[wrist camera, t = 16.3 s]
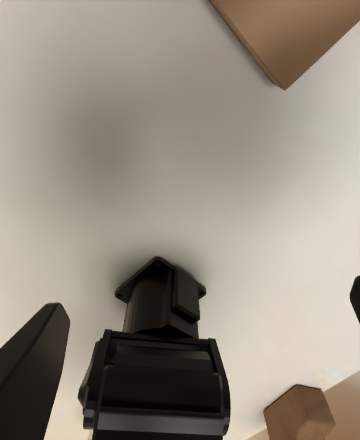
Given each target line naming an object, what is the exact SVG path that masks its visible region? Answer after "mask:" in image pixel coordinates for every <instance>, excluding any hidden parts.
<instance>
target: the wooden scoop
mask: <svg viewBox="0 0 360 440" xmlns="http://www.w3.org/2000/svg"><path fill="white" fill-rule="evenodd" d="M264 416H265V421H266V425H267V429H268V434H269V438H270V440H325V437H326V436H327V435H328V434H329V433H330V432H331V430H332V429H333V428H334V427H335V421H334V419H333V416H332V414H331V411H330V409H329V406H328V404H327V402H326V399H325V397H324V394H323V392H322V391H321V390H320V389H314V388H309V387H304V386H299V385H296V386H294V387H293V388H292V389H291V390H289V391H288V392H287V393H286V394H284V395H283V396H282V397H281V398H279V399H278V400H277V401H276V402H274V403H273V404H272V405H271V406H269V407H268V408H267V409H266V410H264Z"/></svg>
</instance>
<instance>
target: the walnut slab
mask: <svg viewBox="0 0 360 440" xmlns="http://www.w3.org/2000/svg"><path fill="white" fill-rule="evenodd" d="M209 1H210V2H211V4H212V5H213V6H214V8H215V9H216V10H217V11H218V13H219V14H220V15H221V16H222V18H223V19H224V20H225V22H226V23H227V24H228V25H229V27H230V28H231V29H232V31H233V32H234V33H235V34H236V36H237V37H238V38H239V40H240V41H241V42H242V43H243V45H244V46H245V47H246V48H247V50H248V51H249V52H250V54H251V55H252V56H253V57H254V59H255V60H256V61H257V63H258V64H259V65H260V66H261V68H262V69H263V70H264V72H265V73H266V74H267V75H268V77H269V78H270V79H271V81H272V82H273V83H274V84H275V85H276V86H278V87H280V88H282V89H283V90H286V89H287V88H288V87H290V86H291V85H292V84H293V83H294V82H295V81H296V80H297V79H298V78H299V77H300V76H301V75H302V74H303V73H304V72H305V71H307V70H308V69H309V68H310V67H311V66H312V65H313V64H314V63H315V62H316V61H317V60H318V59H319V58H320V57H321V56H323V55H324V54H325V53H326V52H327V51H328V50H329V49H330V48H331V47H332V46H333V45H334V44H335V43H336V42H337V41H338V40H340V39H341V38H342V37H343V36H344V35H345V34H346V33H347V32H348V31H349V30H350V29H351V28H352V27H353V26H354V25H356V24H357V23H358V22H359V21H360V0H209Z"/></svg>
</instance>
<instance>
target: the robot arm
mask: <svg viewBox="0 0 360 440" xmlns="http://www.w3.org/2000/svg"><path fill="white" fill-rule="evenodd" d="M157 263H159V264H157ZM200 291H202V292H200ZM205 295H206V289H205V287H203V286H202V285H200V284H199V283H197V282H196V281H195V280H194V279H192V278H191V277H189V276H188V275H186V274H185V273H183V272H182V271H180V270H179V269H177V268H175V267H174V266H172V265H171V264H169V263H168V262H166V261H165V260H163V259H162V258H159V257H156V258H154V259H153V260H151V261H150V262H149V263H148V264H147V265H145V266H144V267H143V268H142V269H141V270H140V271H138V272H137V273H136V274H135V275H134V276H132V277H131V278H130V279H129V280H128V281H126V282H125V283H124V284H123V285H122V286H121V287H119V288H118V289H117V290H116V292H115V297H116V298H118V299H119V300H121V301H123V302H125V303H127V308H126V314H125V320H124V326H123V332H118V331H112V330H110V329H105V331H104V335H103V338H100V341H98V342H96V343H95V347H94V351H93V355H92V359H91V362H90V365H89V368H88V370H87V372H86V375H85V377H84V379H83V382H82V384H81V386H80V389H79V393H78V400H79V401H80V403H81V404H82V406H83V415H84V421H83V428H84V429H93V435H92V440H223V436H224V435H226V433H227V431H228V427H229V422H230V410H231V407H230V391H229V385H228V380H227V377H226V373H225V370H224V367H223V363H222V360H221V357H220V353H219V350H218V347H217V343H216V340H215V339H212V338H208V339H199V335H198V322H197V321H199V320H200V310H199V299H200V298H202V297H203V296H205ZM350 301H351V304H352V306H353V309H354V311H355V313H356V316H357V318H358V321H359V323H360V276H357V277H356V278H355V280H354V283H353V286H352V289H351V292H350ZM69 328H70V319H69V317H68V315H67V313H66V311H65V309H64V307H63V306H62V304H61V303H58V302H57V303H48V304H46V305H44V306H43V307H42V308H41V309H40V310H39V311H38V312H37V313H36V314H35V315H34V316H33V317H32V318H31V319H30V320H29V321H28V322H27V323H26V324H25V325H24V326H23V327H22V328H21V329H20V330H19V331H18V332H17V333H16V334H15V335H14V336H13V337H12V338H11V339H10V340H9V341H8V342H6V343H5V344H4V345H3V346H2V347H1V348H0V440H44V436H45V432H46V429H47V425H48V422H49V418H50V414H51V411H52V407H53V404H54V400H55V396H56V393H57V389H58V386H59V382H60V378H61V374H62V369H63V363H64V358H65V352H66V346H67V340H68V334H69Z"/></svg>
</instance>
